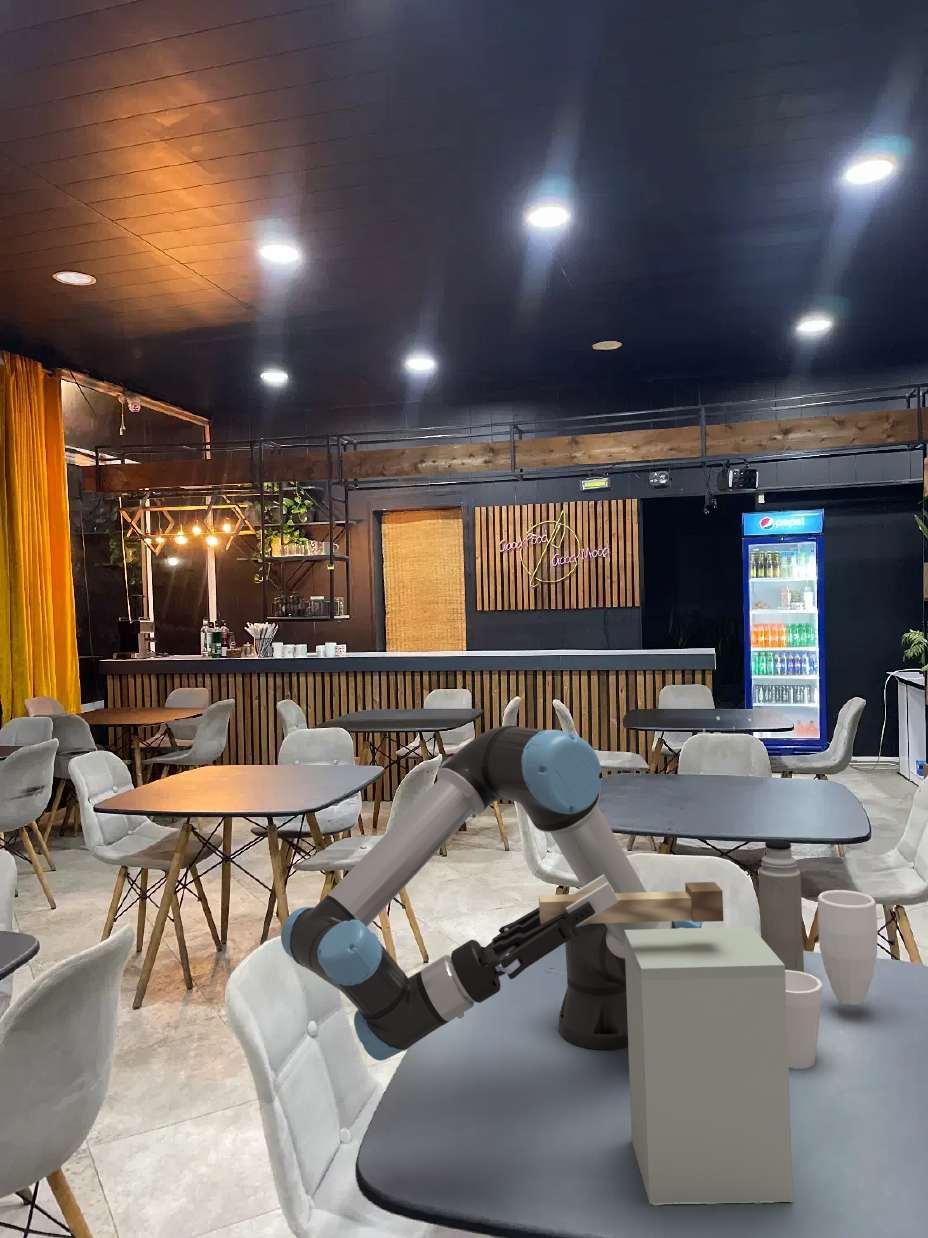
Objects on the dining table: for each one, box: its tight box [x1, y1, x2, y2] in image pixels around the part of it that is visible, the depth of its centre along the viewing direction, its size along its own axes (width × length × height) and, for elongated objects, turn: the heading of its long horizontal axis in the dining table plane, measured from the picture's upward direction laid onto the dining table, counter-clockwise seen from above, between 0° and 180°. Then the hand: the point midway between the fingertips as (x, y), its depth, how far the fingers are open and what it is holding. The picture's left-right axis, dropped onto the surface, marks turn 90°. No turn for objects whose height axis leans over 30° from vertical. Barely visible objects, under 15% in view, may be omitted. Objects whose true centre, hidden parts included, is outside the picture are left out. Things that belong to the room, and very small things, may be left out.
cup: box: [817, 889, 879, 1006], centre depth 163 cm, size 10×10×22 cm
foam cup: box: [785, 970, 824, 1070], centre depth 148 cm, size 10×9×13 cm
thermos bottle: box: [758, 839, 805, 973], centre depth 179 cm, size 8×8×28 cm
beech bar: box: [538, 881, 724, 925], centre depth 120 cm, size 24×4×4 cm, turn 89°
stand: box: [624, 926, 794, 1205], centre depth 120 cm, size 18×14×30 cm
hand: (610, 887), depth 120 cm, fingers closed on beech bar, 3 cm apart
